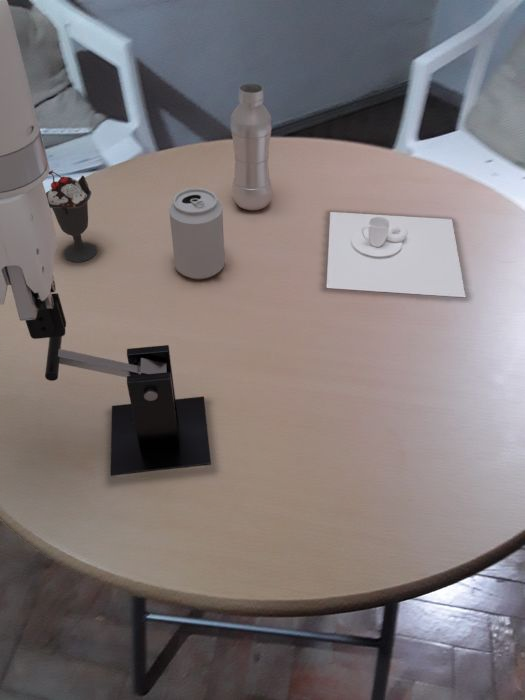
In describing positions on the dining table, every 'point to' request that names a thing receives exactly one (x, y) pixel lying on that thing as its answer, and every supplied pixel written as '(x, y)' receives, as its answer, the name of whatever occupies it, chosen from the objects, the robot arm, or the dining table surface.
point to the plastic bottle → (251, 148)
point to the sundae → (72, 214)
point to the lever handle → (95, 363)
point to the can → (197, 233)
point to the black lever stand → (157, 422)
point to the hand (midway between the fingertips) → (49, 331)
